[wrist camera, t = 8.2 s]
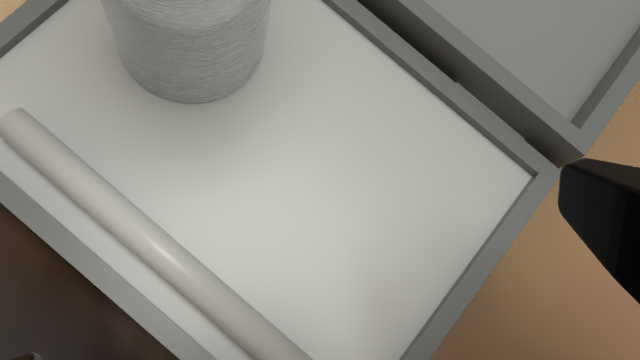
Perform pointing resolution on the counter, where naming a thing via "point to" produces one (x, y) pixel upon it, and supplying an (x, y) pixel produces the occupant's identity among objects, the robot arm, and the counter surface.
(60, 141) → the lid
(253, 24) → the grey cylinder
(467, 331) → the counter surface
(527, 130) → the case
